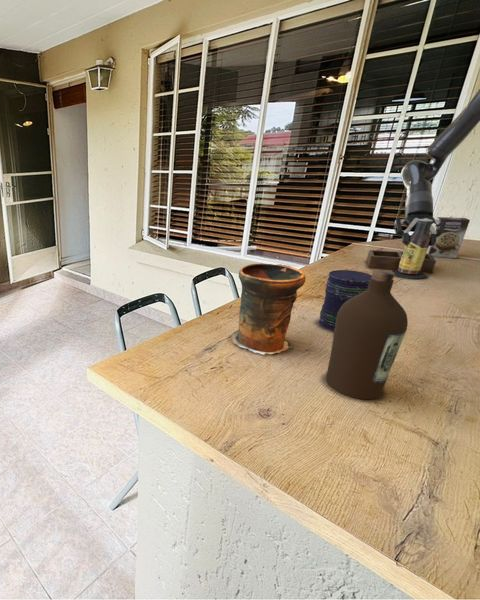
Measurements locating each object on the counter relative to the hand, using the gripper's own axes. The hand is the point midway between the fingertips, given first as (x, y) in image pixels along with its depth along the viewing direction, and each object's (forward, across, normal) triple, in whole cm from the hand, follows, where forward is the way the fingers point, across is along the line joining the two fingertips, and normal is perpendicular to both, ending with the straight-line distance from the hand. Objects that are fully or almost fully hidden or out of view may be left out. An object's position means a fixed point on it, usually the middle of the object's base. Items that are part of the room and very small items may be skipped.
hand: (418, 244), depth 126 cm
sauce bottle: (+7, 0, +9) cm, 12 cm away
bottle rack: (0, -1, +18) cm, 18 cm away
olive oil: (+70, -28, -53) cm, 93 cm away
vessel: (+61, -46, -44) cm, 89 cm away
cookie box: (-17, +18, +34) cm, 42 cm away
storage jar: (+48, -27, -31) cm, 64 cm away
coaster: (+8, 0, +10) cm, 12 cm away
